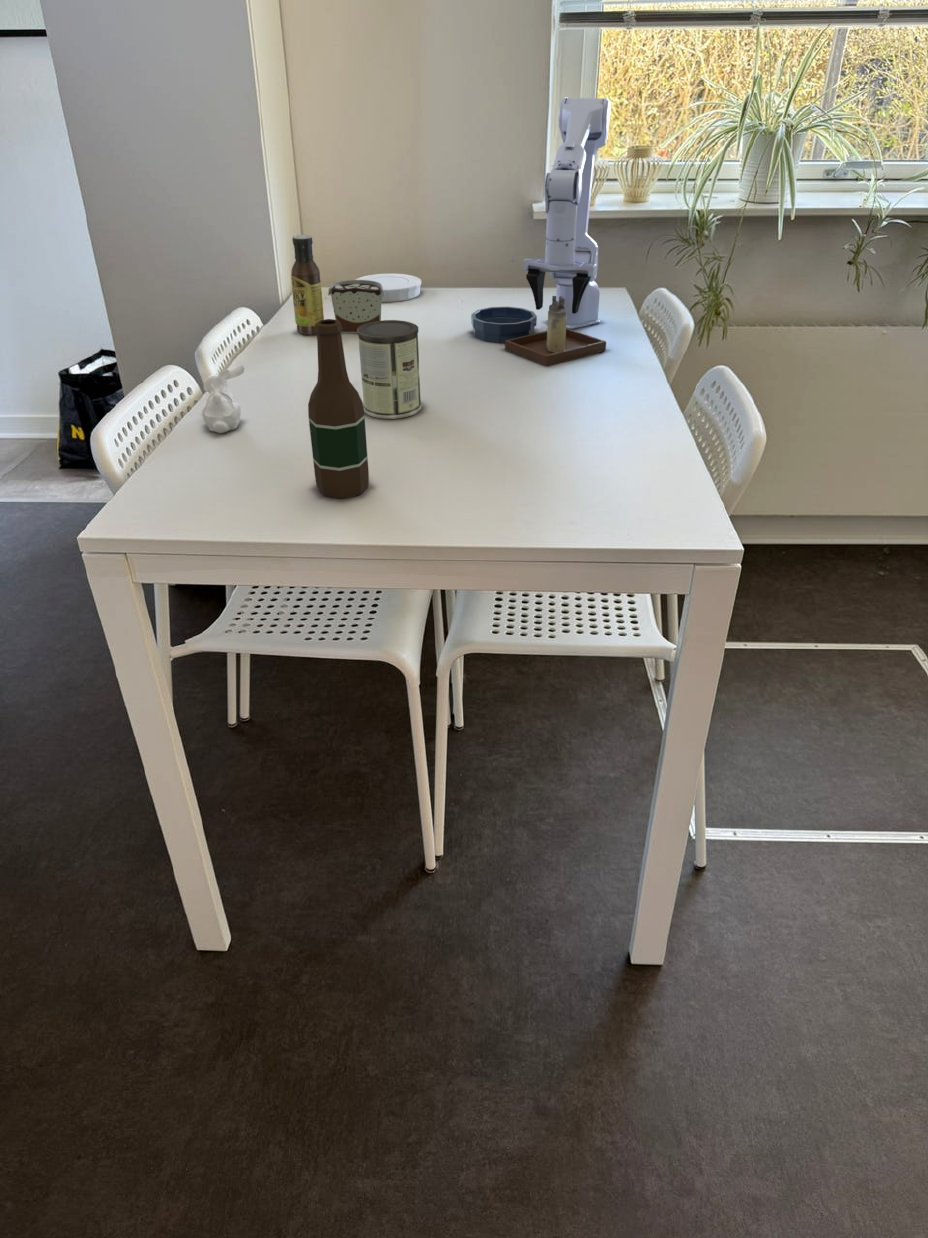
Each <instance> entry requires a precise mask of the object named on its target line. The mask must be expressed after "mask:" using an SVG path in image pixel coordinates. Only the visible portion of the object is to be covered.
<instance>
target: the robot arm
mask: <svg viewBox="0 0 928 1238" xmlns="http://www.w3.org/2000/svg"><path fill="white" fill-rule="evenodd" d="M611 107H612V106H611V100H610V99H609V97H602V98H601V97H596V98H595V97H567V96H564V97H563V98H562V99H561V101H560V104H559V110H558V128H559V131H560V136H561V140H562V144H561V145H559V147H558V149H557V151H556V154H555V158H554V160H553V161H554V162H553V165H552V169H551V170H550V172H546V175H545V178H544V188H543V189H544V190H543V193H544V205H545V206H544V207H545V209H544V211H545V214H546V225H545V226H546V228H545V249H544V250H545V252H544V258H525V259H523V261H522V271H524V272H527V273H526V274H525V278H526V280H527V282H528V284H529V287H530V290H531V293H532V295H533V299H534V303H535V310H537V311H539V310H541V309H542V308H543V307H544V285H545V278H546V273H549V274H550V278H551V279H552V280H554V284H555V285H556V291H555V292H556V293H555V296H556V301H557V302H558V304H559V297H560V296H562V297H563V298H565V304H564V307H565V309H566V316H567V321H566V328H568V329H571V330H574V329H578V328H582V327H587V326H590V325H596V324H600V323H601V320H600V319H599V307H600V288H599V285H598V284H597V282H596V281H595V280H596V278H597V274H598V268H599V267H598V266H599V246H598V243H597V242H596V241H595V240H594V239H593V238H592V237H591V236H590V235H589V234H588V230H589V219H590V211H591V210H590V209H591V199H592V198H591V197H592V188H593V187H592V186H593V178H594V169H595V168H594V167H595V159H596V157H597V153H598V151H599V149H601V148H603V147H604V146H606V145H607V140H608V138H609V127H610V120H611V109H612V108H611ZM546 322H547V323H548V319H546Z"/></svg>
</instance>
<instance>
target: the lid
mask: <svg viewBox="0 0 928 1238" xmlns="http://www.w3.org/2000/svg"><path fill="white" fill-rule="evenodd" d="M355 280H369V281H375V282H378V283H380V284H381V285H382V287H383V290H384V294H385V296H383V293H382V301H381V303H393V302H394V303H395V302H403V301H408V300H409V301H410V300H412V299H415V298H417V297H419V296H420V294H421V285H422V279H420V277H417V276H415V275H412V274H405V273H376V274H368V275H364V276H361V277H357V278H356V279H355Z"/></svg>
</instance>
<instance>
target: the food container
mask: <svg viewBox="0 0 928 1238" xmlns="http://www.w3.org/2000/svg"><path fill="white" fill-rule="evenodd" d="M382 293H383V296H385V294H384V290H383V287H382V285H381V284H380V283H378V282H375V281H369V280H356V279H350V280H349V279H347V280H341V281H338V282H334V283H331V284H330V285H329V288H328V293H327V296H330V297H331V303H332V308H333V314H334V318H335V319H334V320H338V321H339V322H341V325H342V327H343V330H342V331H341V334H357V329H358V327H360V326H361V325H364V324H366V323H370V322H375V321H382V302H381V301H382Z"/></svg>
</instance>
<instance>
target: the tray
mask: <svg viewBox="0 0 928 1238" xmlns="http://www.w3.org/2000/svg"><path fill="white" fill-rule="evenodd" d="M546 343H547V330H544V331H541V332H537V333H534V334H531V335H527V336H523V337H518V338H514V339H510V340H505V343H504V351H506V352H508V353H511V354H513V355H516V356H519V357H522V358H525V359H527V360H529V361H532V362H534V363H537V364H539V365H541V366H544V367H549V366H552V365H556V364H559V363H564V362H567V361H572V360H575V359H579V358H584V357H586V356H591V355H594V354H599V353H603V352H606V350H607V349H606V348H607V341H606V340H603V339H600V338H598V337H594V336H591V335H588V334H586V333H583V332H579V331H577V330H574V329H568V328H566V338H565V351H561V352H557V353H554V352H550V351H548V349H547V348H546V346H547V345H546Z"/></svg>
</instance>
